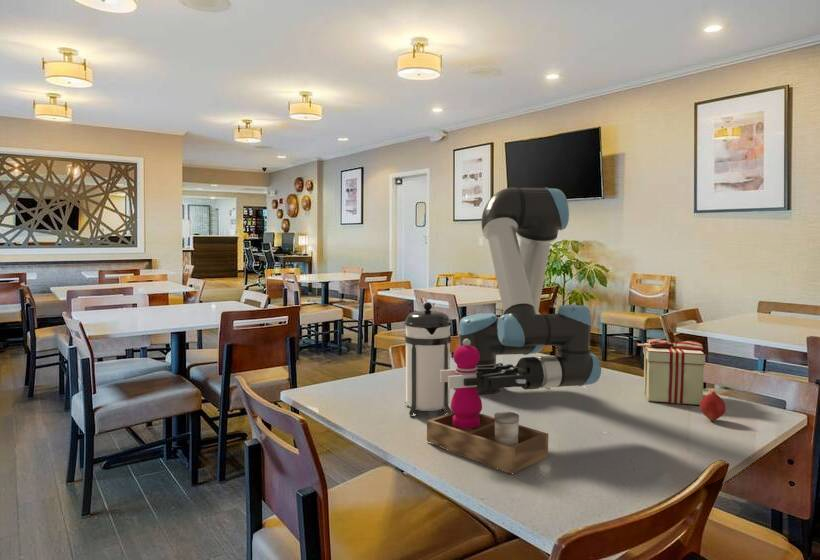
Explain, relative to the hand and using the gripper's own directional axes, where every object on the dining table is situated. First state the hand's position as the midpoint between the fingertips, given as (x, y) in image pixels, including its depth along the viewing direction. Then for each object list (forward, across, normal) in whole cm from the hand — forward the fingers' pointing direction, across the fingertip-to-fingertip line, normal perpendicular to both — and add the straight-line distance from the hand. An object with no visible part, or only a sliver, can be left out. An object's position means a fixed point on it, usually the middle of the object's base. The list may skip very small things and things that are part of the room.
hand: (444, 379), depth 124 cm
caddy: (-8, -5, -15) cm, 18 cm away
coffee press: (-4, +27, -16) cm, 31 cm away
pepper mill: (-5, 0, -11) cm, 12 cm away
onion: (-72, -2, -16) cm, 74 cm away
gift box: (-78, +20, -16) cm, 82 cm away
